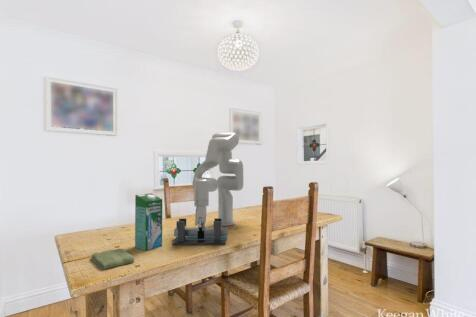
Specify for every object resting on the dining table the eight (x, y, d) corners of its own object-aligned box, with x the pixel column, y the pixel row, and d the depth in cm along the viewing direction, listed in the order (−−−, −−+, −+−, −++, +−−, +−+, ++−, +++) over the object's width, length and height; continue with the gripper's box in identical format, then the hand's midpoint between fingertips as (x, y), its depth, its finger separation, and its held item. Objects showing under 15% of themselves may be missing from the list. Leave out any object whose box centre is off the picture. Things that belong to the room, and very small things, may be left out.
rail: (175, 234, 141) (175, 228, 141) (227, 234, 141) (227, 227, 141) (174, 236, 137) (174, 229, 137) (227, 236, 138) (227, 229, 138)
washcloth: (121, 252, 120) (121, 245, 120) (136, 263, 107) (136, 255, 107) (89, 259, 111) (89, 251, 111) (101, 272, 98) (101, 264, 98)
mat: (176, 237, 141) (176, 236, 141) (226, 237, 142) (226, 236, 142) (174, 240, 136) (174, 239, 136) (226, 240, 137) (226, 239, 137)
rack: (174, 241, 135) (175, 218, 135) (225, 241, 135) (225, 218, 135) (171, 246, 128) (171, 221, 128) (225, 245, 128) (225, 221, 128)
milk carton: (145, 250, 121) (146, 196, 121) (134, 247, 126) (135, 194, 126) (162, 245, 128) (162, 194, 128) (151, 242, 133) (151, 193, 134)
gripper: (196, 200, 148) (196, 233, 147) (192, 205, 131) (191, 242, 131) (209, 200, 148) (209, 232, 148) (207, 205, 131) (207, 242, 131)
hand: (201, 236), depth 139 cm, fingers open, 3 cm apart
